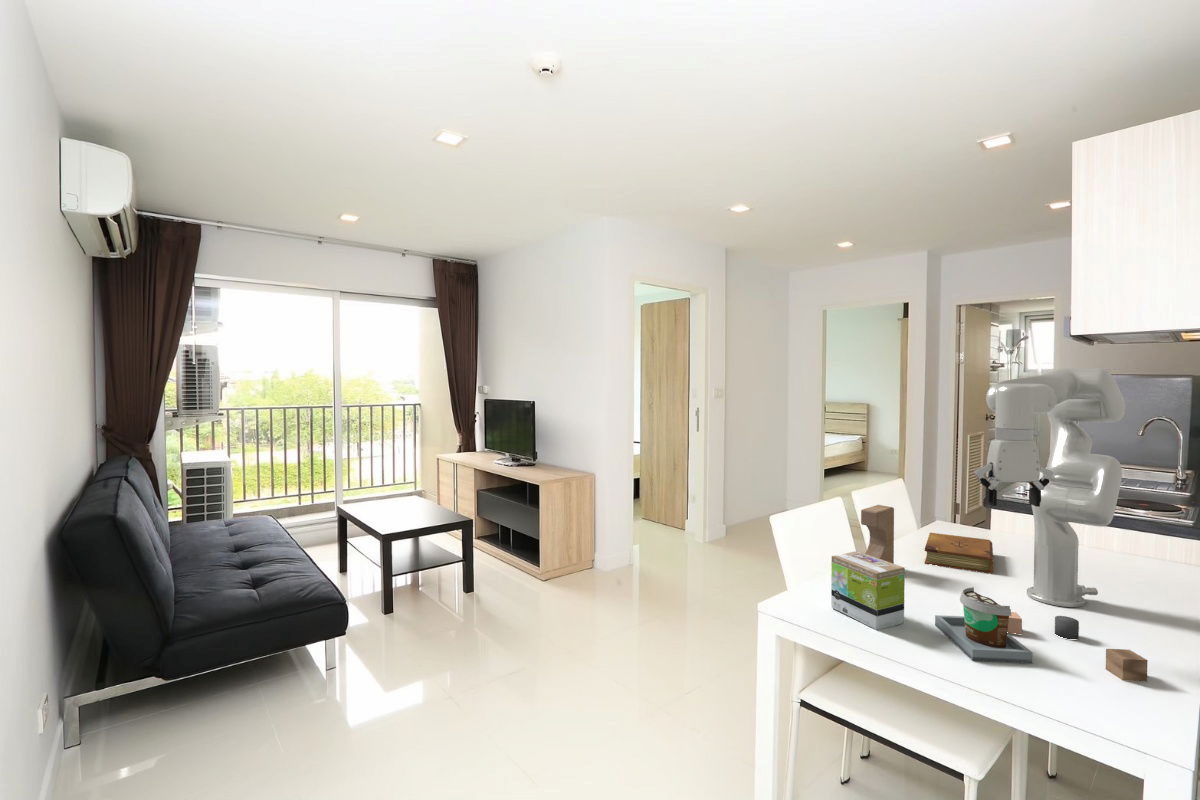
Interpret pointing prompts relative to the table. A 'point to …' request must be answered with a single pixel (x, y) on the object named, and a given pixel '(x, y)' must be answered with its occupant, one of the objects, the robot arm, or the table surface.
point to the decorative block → (880, 531)
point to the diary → (959, 552)
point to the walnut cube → (1126, 665)
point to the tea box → (868, 589)
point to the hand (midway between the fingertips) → (1012, 505)
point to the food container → (985, 619)
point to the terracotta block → (1015, 623)
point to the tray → (979, 652)
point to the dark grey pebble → (1066, 627)
